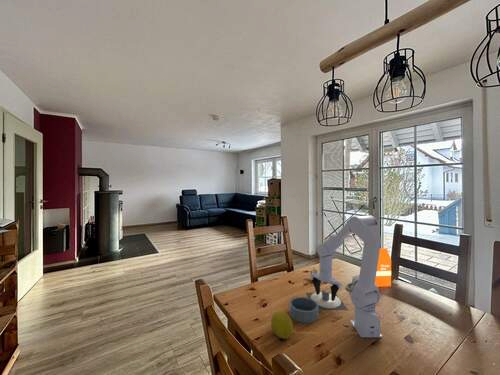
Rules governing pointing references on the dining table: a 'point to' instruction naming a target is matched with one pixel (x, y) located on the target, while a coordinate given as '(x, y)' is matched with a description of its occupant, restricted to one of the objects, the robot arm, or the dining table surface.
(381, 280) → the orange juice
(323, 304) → the white lid
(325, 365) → the dining table surface
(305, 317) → the blue pet bowl
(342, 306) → the rubber mat
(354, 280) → the ceramic mug
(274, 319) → the lemon
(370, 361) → the dining table surface
